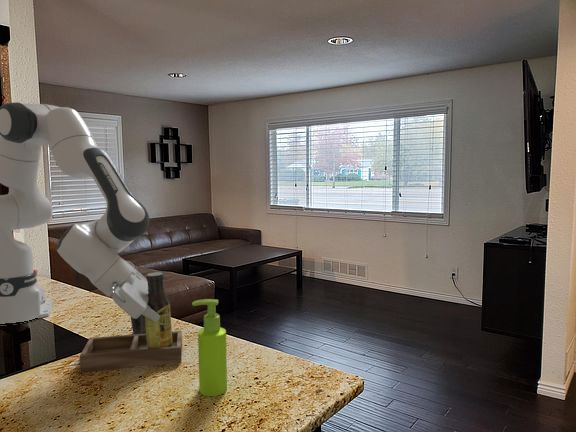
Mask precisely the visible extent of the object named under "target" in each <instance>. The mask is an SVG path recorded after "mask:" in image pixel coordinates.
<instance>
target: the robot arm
mask: <svg viewBox="0 0 576 432" xmlns="http://www.w3.org/2000/svg"><path fill="white" fill-rule="evenodd" d="M44 145H48V147H49V149H50V152H51V155H52V156H53V159H54V161H55V163H56V165H57V167H58V168H59V170H60V171H61V172H62V173H63V174H65V175H67V176H68V177H72V178H75V179H81V178H89V177H91V178H92V180H94V183H95V184H96V186H97V187H98V189H99V191H100V193H101V195H102V196H103V198H104V199H105V202H106V207H105V208H106V209H105V212H104V213H103V215H102V216H101V217H100V218H99V219H95V220H93V221H90V222H86V223H73V224H71V225H70V226H69V227H68V228H67V229H66V230H65V231H64V233H63V234H62V236H61V237H60V238H59V240H58V241H57V242H56V246H55V249H56V252H57V253H58V255H59V256H60V257H61V258H62V259H63V260H64V261H65V262H66V263H67V264H68V265H69V266H70V267H71V268H73V269H74V270H75V271H76V272H78V273H79V274H81V275H83V276H85V277H86V278H88V280H89V281H90V283H91V284H92V285H94V287H96V288H97V289H99V291H101V292H102V293H103V294H105V295H106V296H107V297H110V296H111V295H112V300H113V302H114V304H116V306H118V307H119V308H120V309H121V310H122V311H123V312H125V313H126V314H127V315H128V316H129V317H130V318H131V317H132V318H134V319H137V318H138V317H139V316H140V315H141V314H142V315H144V316H146V317H148V318H151V319H152V320H153V321H154V322H156V321H157V320H158V319H159V318H160V314H159V313H158V312H157V311H154V310H152V309H151V308H150V307H149V306H148V305H147V304H148V300H149V297H148V293H149V292H148V282H147V278H146V276H144V275H143V274H142V273H140V271H137V270H138V269H137V270H136V269H135V267H136V266H135V264H133V262H131V261H129V260H125V259H124V258H122V257H121V256H120V255H119V254H118V253H122V251H124V250H125V249H126V248H127V247H129V246H130V245H131V243H133V242H134V241H135V240H136V239H138V238H139V237H141V236H143V235H144V234H145V233H146V232H147V231H148V229H149V227H150V214H149V212H148V210H147V208H146V207H145V206H144V204H142V202H141V201H140V200H139V199H138V198H137V197H136V195H135V194H134V193H133V192H132V191H131V189H130V187H129V185H128V184H127V182H126V181H125V179H124V178H123V175H122V174H121V173H120V171H119V169H118V167H117V166H116V163H114V161H113V160H112V158H111V157H110V155H109V154H108V153H107V152H106V151H105V150H103V149H102V148H100V147H99V146H98V144H97V142H96V139H95V137H94V135H93V133H92V132H91V129H90V127H89V126H88V125H87V123H86V122H85V119H84V118H83V117H82V115H80V113H79V112H78V111H77V110H76V109H73V108H71V107H67V106H66V107H65V106H57V105H53V104H47V103H21V102H18V101H17V102H7V103H4V104H2V105H1V106H0V184H1V185H2V186H4V187H7V188H9V191H8V193H7V194H0V324H5V323H16V322H24V321H28V322H30V321H29V320H32V319H35V318H38V319H42V318H45V317H48V316H50V314H51V312H52V311H51V310H52V307H53V304H54V301H53V300H51V299H46V294H45V288H43V287H42V286H41V285H40V284H39V283H38V279H37V276H38V270H37V269H34V259H33V258H34V257H33V250H32V248H31V246H29V245H28V244H27V243H25V242H22V241H20V240H17V239H16V238H15V237H14V234H13V231H15V230H16V231H17V230H22V229H31V228H35V227H38V226H42V225H44V224H47V223H48V222H49V221H50V219H51V217H52V216H53V207H52V206H53V205H52V203H51V201H50V200H49V198H47V197H46V196H45V195H44V194H43V193H42V192H41V191H40V189H39V186H38V171H39V166H40V164H39V163H40V160H41V153H42V147H43V146H44ZM35 320H36V319H35ZM32 321H33V320H32ZM24 323H25V322H24Z"/></svg>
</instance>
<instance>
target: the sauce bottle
mask: <svg viewBox="0 0 576 432" xmlns="http://www.w3.org/2000/svg"><path fill="white" fill-rule="evenodd" d="M145 278H146V279H147V282H148V292H149V293H148V297H149V300H148V304H147V305H148V306H149V307H150V308H151V309H152V310H154V311H157V312H158V313H159V314H160V318H159V319H158V320H157V321H156V322H154V321H153V320H152V319H151V318H148V317H146V316H145V325H146V339H147V346H148V349H149V348H161V347H172V342H173V341H172V332H173V330H172V315H171V304H170V301H169V299H168V297H167V294H166V292H165V288H164V273H163V272H160V271H159V272H158V271H157V272H151V273H150V272H148V273H147V274H146V276H145Z"/></svg>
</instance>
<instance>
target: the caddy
mask: <svg viewBox="0 0 576 432" xmlns="http://www.w3.org/2000/svg"><path fill="white" fill-rule="evenodd" d="M182 331H183V330H175V331H173V330H172V341H173V342H172V347H161V348H149V349H148V346H147V339H146V334H134V335H133V334H125V335H111V336H97V337H89V339H88V340H87V343H86V344H85V346H84V347H83V350H82V352H81V353H80V354H79V368H80V373H87V372H98V371H109V370H112V371H113V370H121V369H131V368H133V369H134V368H143V367H153V366H163V365H174V364H175V365H176V364H181V363H182V355H183V332H182Z"/></svg>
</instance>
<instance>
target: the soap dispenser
mask: <svg viewBox="0 0 576 432" xmlns="http://www.w3.org/2000/svg"><path fill="white" fill-rule="evenodd" d="M218 304H219V299H214V298H213V299H212V298H204V299H203V298H202V299H198V300H194V301H192V303H191V305H192V306H193V307H195V306H202V305H204V306H206V305H207V313H206V314H204V315H203V328H202V329H200V330H198V332H197V337H198V338H197V342H198V343H197V345H198V347H197V348H198V386H199V388H198V390H199V393H200V394H201V395H202V394H203V395H202V396H204V395H205V396H204V397H209V396H213V397H218V395H219V396H222V395H223V394H225V393H226V392H227V390H228V380H227V379H228V375H227V374H228V373H227V371H228V370H227V363H228V362H227V330H226V329H225V328H224V327H221V315H220V314H219V313H217V312H216V311H217V310H216V306H218Z"/></svg>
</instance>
